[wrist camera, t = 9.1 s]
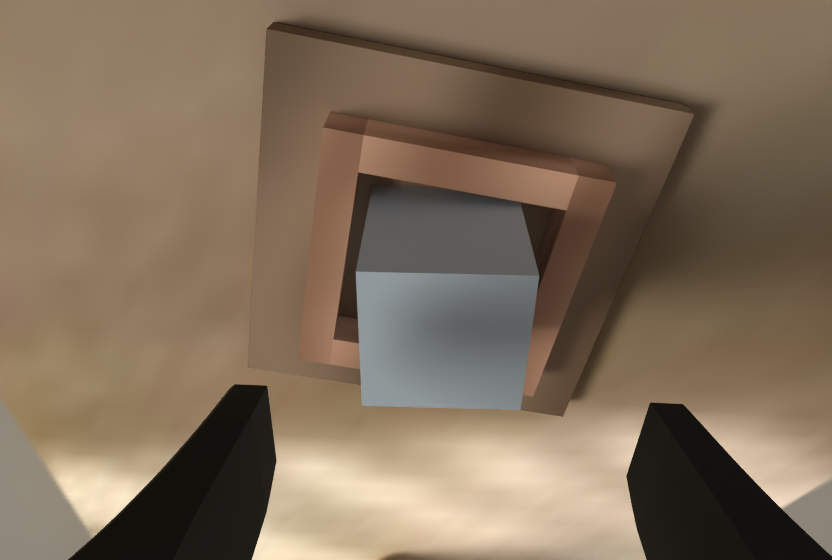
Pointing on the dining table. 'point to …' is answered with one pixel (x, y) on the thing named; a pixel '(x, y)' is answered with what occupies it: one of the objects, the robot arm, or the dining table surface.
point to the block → (444, 299)
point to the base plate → (447, 168)
